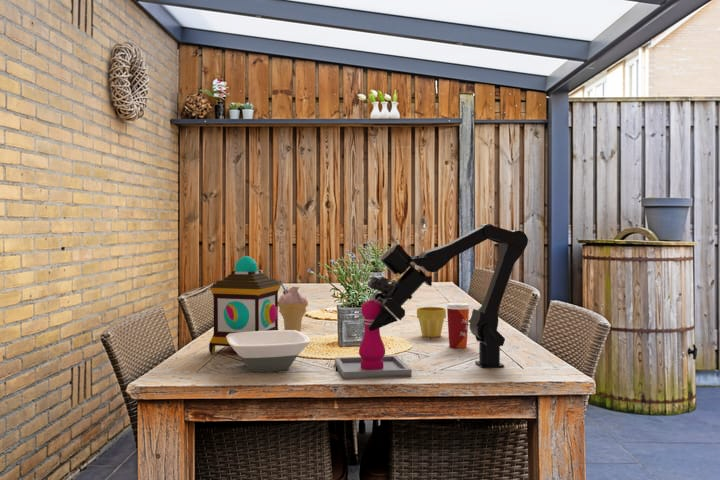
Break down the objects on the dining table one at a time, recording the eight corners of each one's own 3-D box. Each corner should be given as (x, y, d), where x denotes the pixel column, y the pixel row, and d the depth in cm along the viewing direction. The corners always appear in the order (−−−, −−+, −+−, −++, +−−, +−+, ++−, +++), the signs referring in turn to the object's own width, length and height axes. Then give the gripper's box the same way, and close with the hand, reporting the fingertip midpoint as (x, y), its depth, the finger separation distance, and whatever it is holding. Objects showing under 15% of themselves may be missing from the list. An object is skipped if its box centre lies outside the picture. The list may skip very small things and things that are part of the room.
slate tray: (411, 376, 166) (411, 369, 166) (343, 379, 163) (343, 372, 163) (396, 361, 184) (396, 355, 184) (334, 363, 181) (334, 357, 181)
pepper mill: (365, 371, 169) (365, 296, 168) (354, 366, 176) (354, 294, 175) (389, 369, 172) (389, 295, 171) (378, 363, 178) (378, 293, 178)
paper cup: (469, 349, 202) (469, 305, 202) (445, 348, 204) (445, 305, 204) (470, 344, 210) (470, 302, 210) (446, 343, 212) (447, 302, 211)
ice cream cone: (287, 340, 218) (286, 282, 218) (271, 335, 227) (271, 279, 227) (313, 336, 225) (313, 280, 224) (298, 332, 234) (298, 278, 233)
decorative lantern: (287, 346, 207) (287, 254, 207) (262, 358, 188) (262, 257, 188) (232, 343, 213) (232, 253, 212) (202, 354, 194) (201, 256, 193)
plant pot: (414, 337, 223) (414, 309, 223) (418, 332, 233) (419, 306, 233) (444, 338, 221) (444, 310, 221) (447, 333, 231) (447, 307, 231)
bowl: (230, 379, 163) (230, 347, 163) (224, 361, 185) (224, 332, 185) (315, 374, 169) (315, 342, 169) (298, 356, 191) (298, 328, 191)
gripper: (378, 263, 183) (341, 302, 181) (393, 268, 164) (351, 311, 163) (405, 290, 184) (368, 329, 183) (422, 297, 166) (381, 341, 164)
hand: (366, 327), depth 173 cm, fingers open, 9 cm apart
